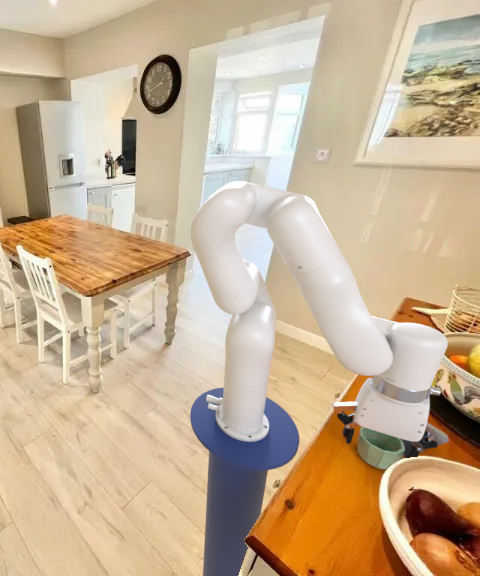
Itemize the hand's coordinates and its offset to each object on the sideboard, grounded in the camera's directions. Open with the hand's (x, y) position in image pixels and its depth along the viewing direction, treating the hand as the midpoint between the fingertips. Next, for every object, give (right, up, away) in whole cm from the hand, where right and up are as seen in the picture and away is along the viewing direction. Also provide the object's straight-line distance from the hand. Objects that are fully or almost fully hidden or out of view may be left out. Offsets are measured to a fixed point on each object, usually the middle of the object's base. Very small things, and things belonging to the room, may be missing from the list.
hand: (376, 448), depth 65 cm
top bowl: (+1, -2, +1) cm, 2 cm away
